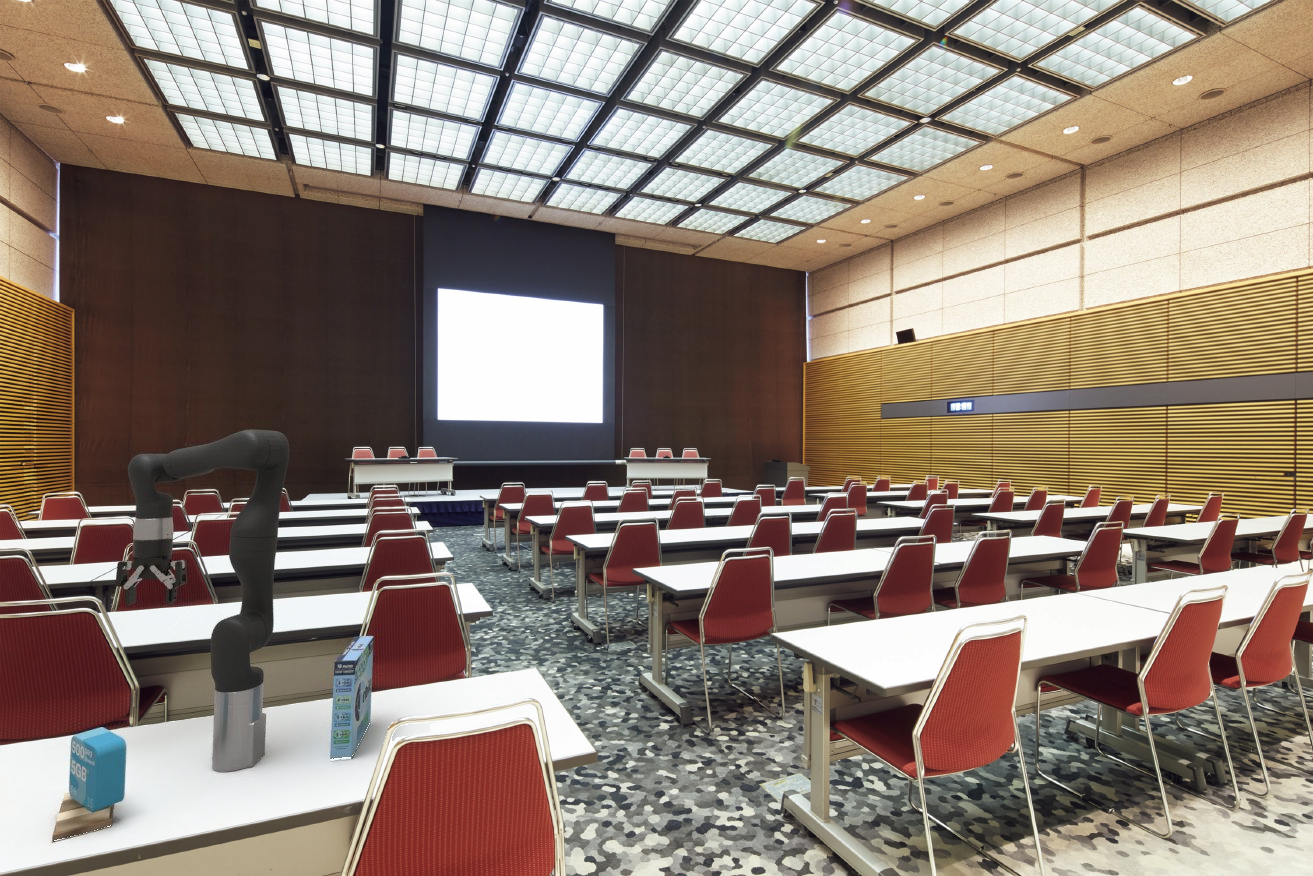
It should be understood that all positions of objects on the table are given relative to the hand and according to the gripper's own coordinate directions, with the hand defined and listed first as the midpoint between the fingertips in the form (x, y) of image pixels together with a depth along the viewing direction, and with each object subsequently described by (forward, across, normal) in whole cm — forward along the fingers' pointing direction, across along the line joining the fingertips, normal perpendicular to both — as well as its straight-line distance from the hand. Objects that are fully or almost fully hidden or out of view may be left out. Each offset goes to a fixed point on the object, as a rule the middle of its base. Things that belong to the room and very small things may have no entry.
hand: (150, 604), depth 151 cm
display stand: (+33, +9, -32) cm, 47 cm away
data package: (+30, +10, -32) cm, 45 cm away
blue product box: (+33, +48, -4) cm, 59 cm away
